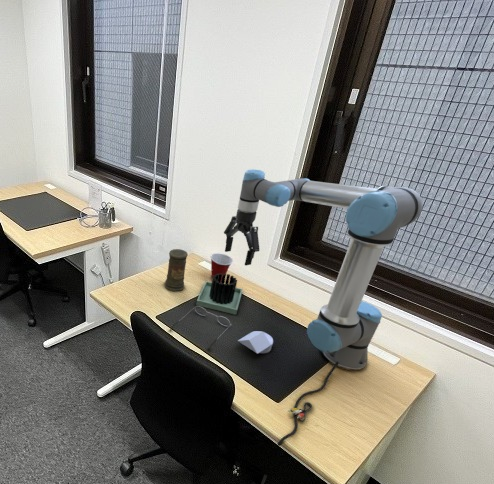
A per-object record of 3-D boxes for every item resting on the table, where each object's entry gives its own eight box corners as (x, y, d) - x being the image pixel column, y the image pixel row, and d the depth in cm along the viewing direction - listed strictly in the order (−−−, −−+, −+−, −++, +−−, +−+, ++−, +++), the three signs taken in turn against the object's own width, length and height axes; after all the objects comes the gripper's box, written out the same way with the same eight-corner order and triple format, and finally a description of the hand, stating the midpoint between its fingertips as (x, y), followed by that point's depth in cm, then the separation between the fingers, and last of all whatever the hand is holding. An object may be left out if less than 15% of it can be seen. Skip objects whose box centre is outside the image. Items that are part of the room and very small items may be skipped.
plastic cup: (223, 287, 183) (227, 265, 177) (203, 279, 188) (206, 258, 182) (232, 278, 190) (237, 257, 184) (212, 271, 196) (216, 250, 189)
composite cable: (306, 402, 123) (308, 397, 122) (319, 413, 120) (321, 407, 118) (286, 414, 119) (288, 408, 117) (298, 425, 115) (301, 420, 114)
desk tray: (236, 314, 164) (237, 309, 162) (196, 305, 169) (196, 300, 168) (241, 293, 179) (242, 289, 177) (204, 285, 184) (205, 280, 182)
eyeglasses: (231, 328, 156) (233, 320, 153) (208, 352, 143) (210, 344, 141) (193, 310, 165) (194, 303, 163) (169, 332, 153) (170, 324, 150)
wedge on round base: (255, 360, 139) (275, 347, 146) (259, 346, 136) (280, 333, 143) (235, 347, 145) (256, 335, 152) (239, 333, 142) (259, 321, 149)
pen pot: (237, 301, 172) (218, 306, 168) (223, 289, 180) (204, 294, 176) (242, 282, 166) (222, 287, 162) (227, 271, 174) (208, 275, 171)
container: (162, 282, 184) (165, 249, 175) (179, 280, 187) (183, 247, 177) (169, 292, 177) (173, 258, 168) (186, 290, 180) (191, 256, 170)
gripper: (276, 219, 143) (264, 269, 154) (235, 199, 162) (226, 244, 173) (260, 222, 140) (249, 272, 151) (220, 201, 160) (213, 247, 171)
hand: (237, 257), depth 162 cm, fingers open, 13 cm apart
